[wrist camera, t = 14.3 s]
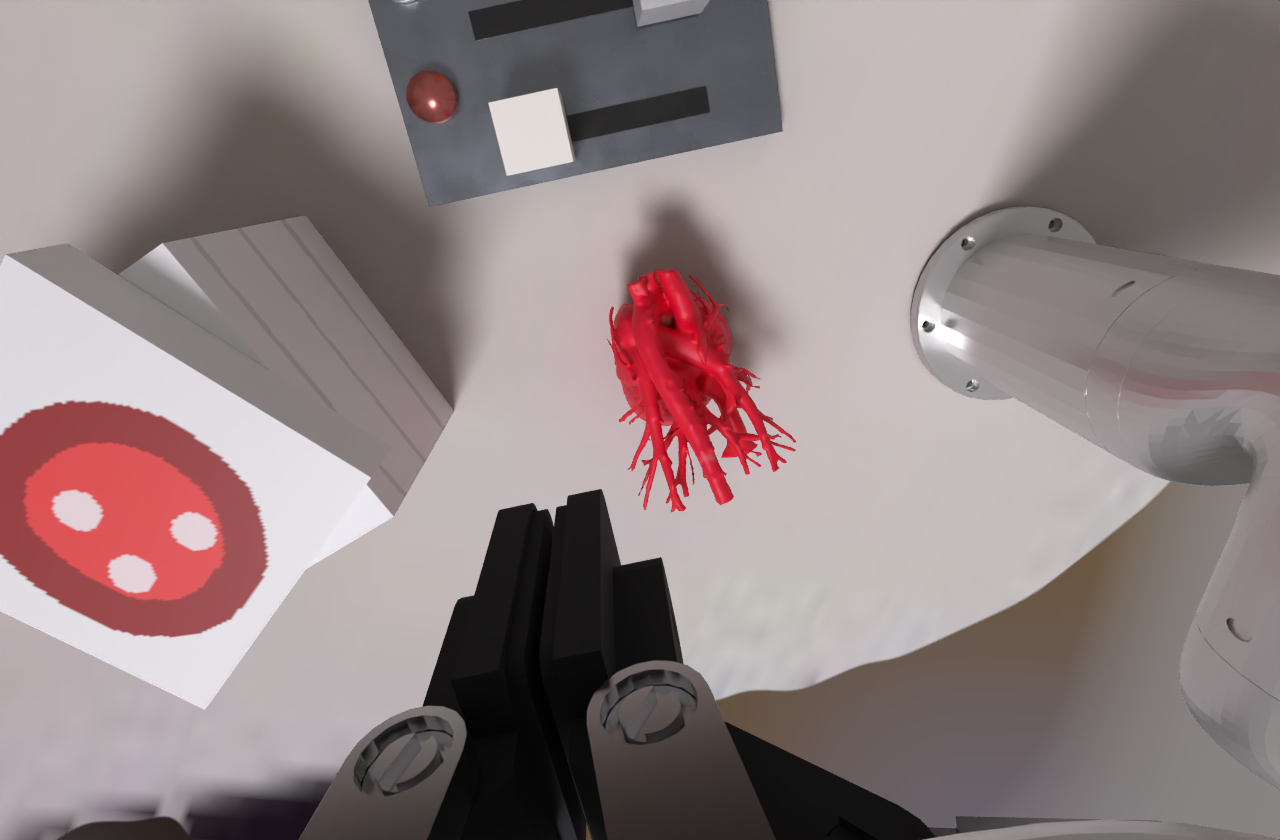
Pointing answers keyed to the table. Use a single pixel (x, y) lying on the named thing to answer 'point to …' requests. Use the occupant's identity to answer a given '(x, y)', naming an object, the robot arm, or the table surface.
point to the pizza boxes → (193, 441)
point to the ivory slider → (532, 131)
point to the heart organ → (684, 381)
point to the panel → (573, 82)
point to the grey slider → (665, 10)
